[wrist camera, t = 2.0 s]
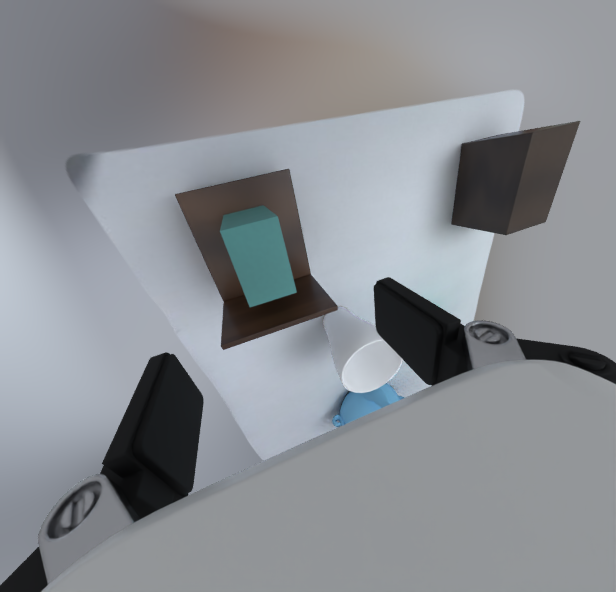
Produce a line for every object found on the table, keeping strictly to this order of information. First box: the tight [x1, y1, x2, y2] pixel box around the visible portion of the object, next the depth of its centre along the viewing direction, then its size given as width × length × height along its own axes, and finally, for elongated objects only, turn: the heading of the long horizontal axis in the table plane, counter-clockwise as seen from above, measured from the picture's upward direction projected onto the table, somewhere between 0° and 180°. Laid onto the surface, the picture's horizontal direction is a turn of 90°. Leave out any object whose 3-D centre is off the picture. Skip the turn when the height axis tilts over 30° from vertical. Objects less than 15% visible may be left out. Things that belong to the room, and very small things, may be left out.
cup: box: [323, 307, 403, 393], centre depth 39 cm, size 10×10×14 cm
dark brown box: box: [452, 121, 580, 235], centre depth 36 cm, size 13×8×10 cm, turn 11°
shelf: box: [175, 169, 338, 350], centre depth 26 cm, size 13×12×16 cm
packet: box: [220, 205, 297, 307], centre depth 23 cm, size 7×4×9 cm, turn 11°
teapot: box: [332, 384, 404, 427], centre depth 55 cm, size 17×19×12 cm
